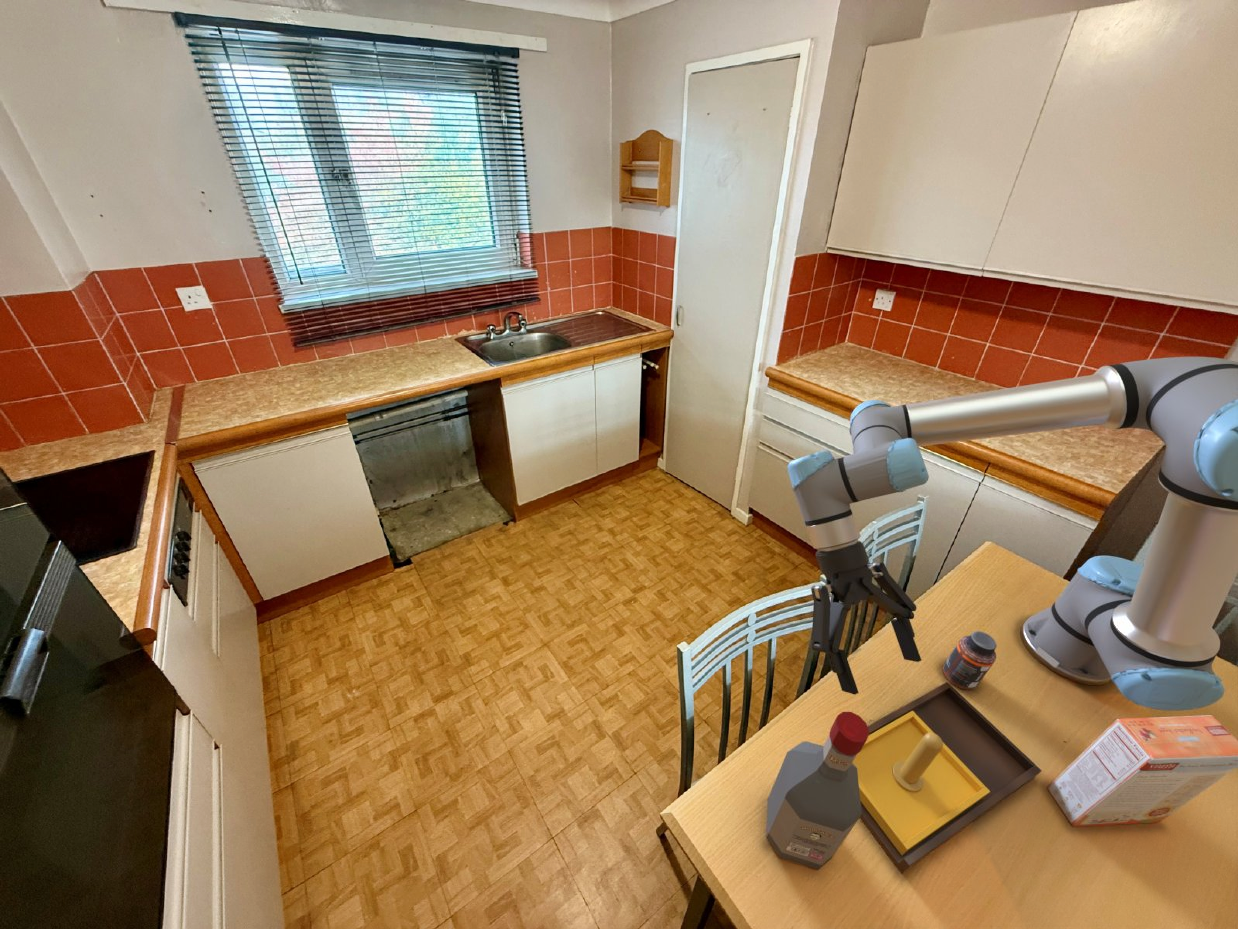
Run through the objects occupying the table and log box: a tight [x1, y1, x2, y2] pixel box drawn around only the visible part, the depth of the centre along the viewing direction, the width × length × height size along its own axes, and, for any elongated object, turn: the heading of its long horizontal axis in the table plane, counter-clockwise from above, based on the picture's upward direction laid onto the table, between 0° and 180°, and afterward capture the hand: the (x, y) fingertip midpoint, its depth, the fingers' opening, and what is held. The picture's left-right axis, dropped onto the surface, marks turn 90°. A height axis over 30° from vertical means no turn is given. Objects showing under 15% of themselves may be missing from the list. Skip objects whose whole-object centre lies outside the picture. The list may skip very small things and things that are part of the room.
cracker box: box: [1046, 714, 1238, 827], centre depth 73 cm, size 14×6×21 cm, turn 92°
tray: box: [852, 711, 990, 856], centre depth 77 cm, size 18×14×13 cm
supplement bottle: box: [942, 630, 998, 690], centre depth 94 cm, size 6×6×11 cm
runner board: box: [859, 681, 1042, 875], centre depth 82 cm, size 30×17×3 cm, turn 115°
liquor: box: [765, 711, 869, 871], centre depth 67 cm, size 9×9×30 cm
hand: (882, 675), depth 80 cm, fingers open, 13 cm apart
